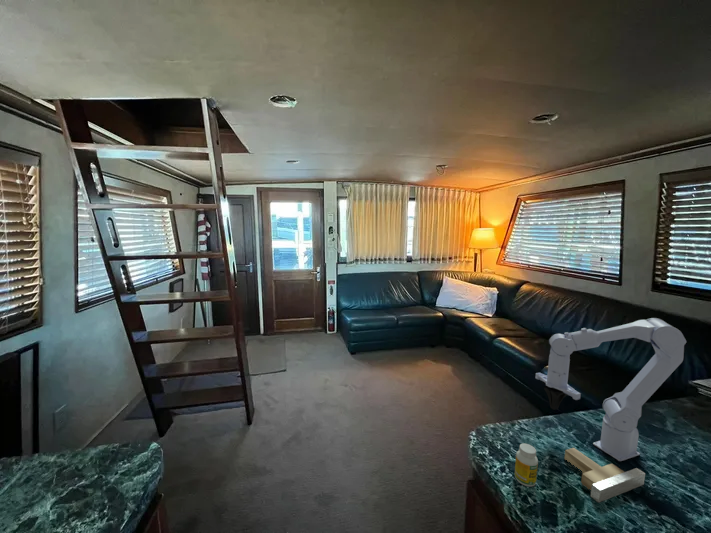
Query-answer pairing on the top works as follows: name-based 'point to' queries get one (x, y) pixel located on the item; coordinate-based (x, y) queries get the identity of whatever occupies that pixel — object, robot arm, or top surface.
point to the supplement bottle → (526, 465)
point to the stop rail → (617, 484)
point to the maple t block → (590, 468)
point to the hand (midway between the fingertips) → (554, 408)
